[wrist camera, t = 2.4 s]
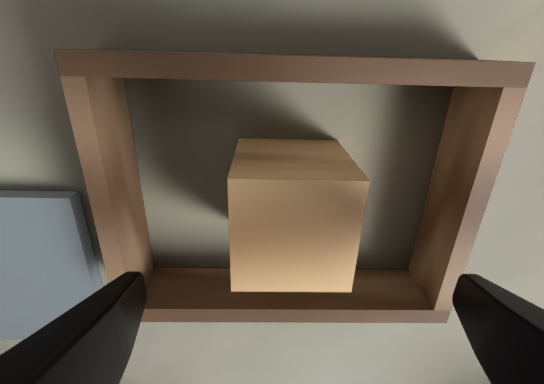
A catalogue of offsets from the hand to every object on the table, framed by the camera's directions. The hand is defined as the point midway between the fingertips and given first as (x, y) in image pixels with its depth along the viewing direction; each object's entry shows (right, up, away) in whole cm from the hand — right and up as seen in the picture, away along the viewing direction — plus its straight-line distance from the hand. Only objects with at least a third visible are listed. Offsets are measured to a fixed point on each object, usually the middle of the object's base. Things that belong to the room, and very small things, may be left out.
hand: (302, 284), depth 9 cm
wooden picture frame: (0, +3, +6) cm, 7 cm away
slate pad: (-15, -1, +8) cm, 17 cm away
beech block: (0, +3, +6) cm, 7 cm away
